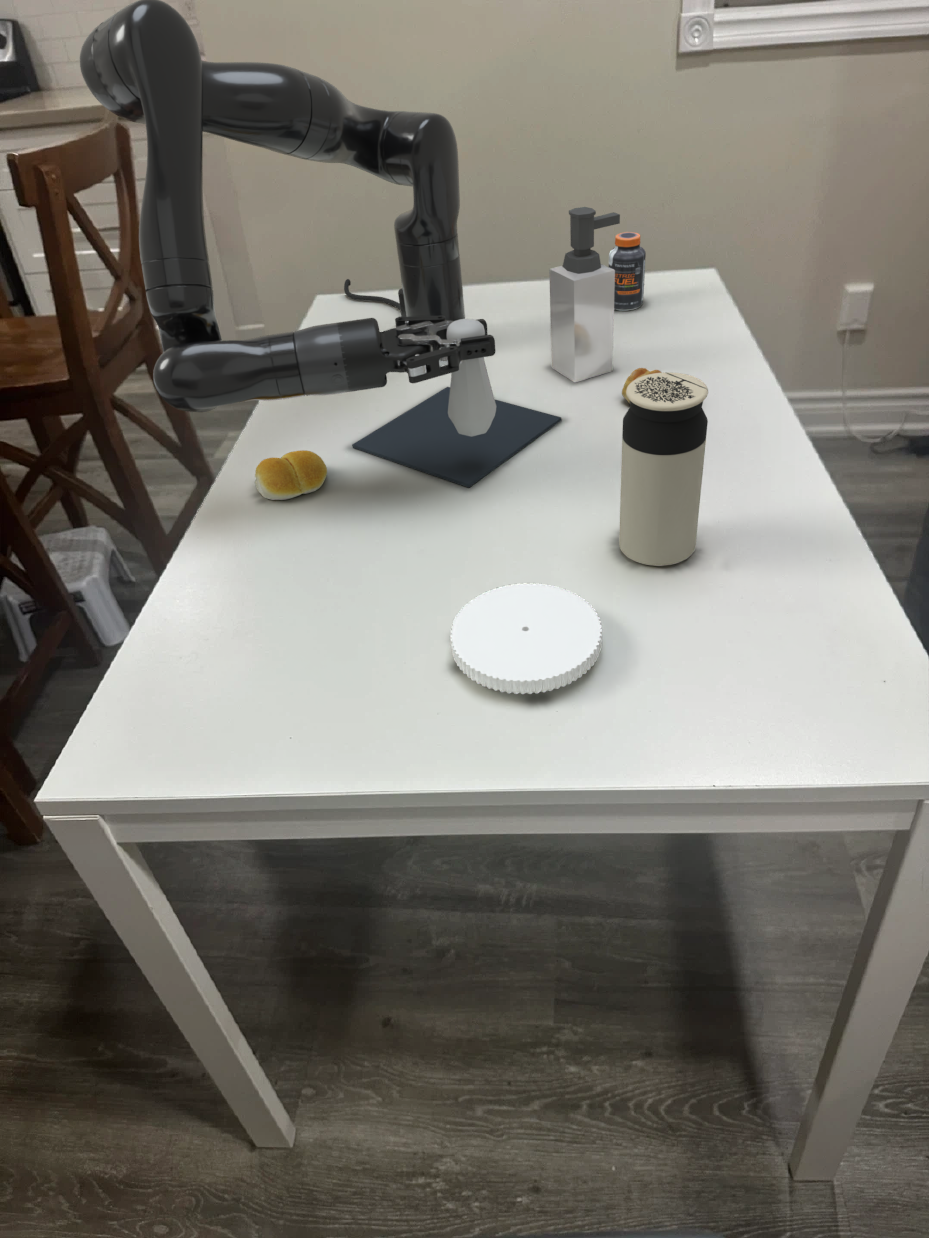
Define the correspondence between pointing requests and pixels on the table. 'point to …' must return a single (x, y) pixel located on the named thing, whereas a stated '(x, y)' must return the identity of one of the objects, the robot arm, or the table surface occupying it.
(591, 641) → the plastic lid
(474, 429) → the salt shaker
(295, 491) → the bread roll
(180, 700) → the table surface
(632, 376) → the pastry
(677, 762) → the table surface
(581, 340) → the soap dispenser
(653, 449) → the travel mug
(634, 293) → the pill bottle
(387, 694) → the table surface
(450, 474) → the mat
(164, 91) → the robot arm
